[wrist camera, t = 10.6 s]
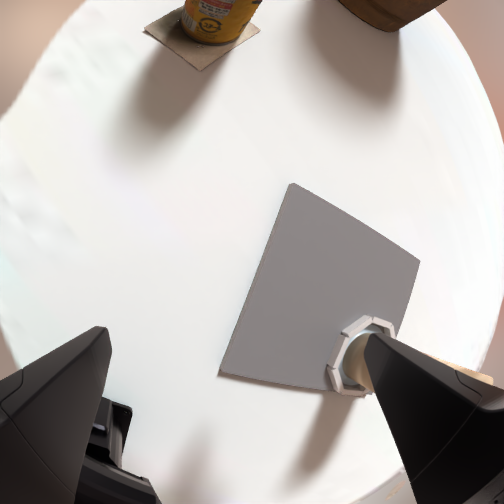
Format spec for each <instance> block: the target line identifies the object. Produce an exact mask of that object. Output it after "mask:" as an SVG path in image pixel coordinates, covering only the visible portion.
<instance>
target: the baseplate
mask: <svg viewBox="0 0 504 504" xmlns="http://www.w3.org/2000/svg"><path fill="white" fill-rule="evenodd" d="M419 264H420V260H419V259H417V258H416V257H414V256H413V255H411V254H410V253H408V252H407V251H406V250H404V249H403V248H401V247H400V246H398V245H397V244H395V243H394V242H392V241H390V240H389V239H387V238H386V237H384V236H383V235H381V234H380V233H378V232H377V231H375V230H373V229H372V228H370V227H369V226H367V225H365V224H364V223H362V222H361V221H359V220H357V219H356V218H354V217H352V216H351V215H349V214H347V213H346V212H344V211H342V210H341V209H339V208H337V207H336V206H334V205H332V204H331V203H329V202H327V201H325V200H324V199H322V198H320V197H318V196H317V195H315V194H313V193H311V192H310V191H308V190H306V189H304V188H302V187H301V186H299V185H297V184H295V183H292V184H289V187H288V189H287V192H286V195H285V197H284V200H283V203H282V206H281V208H280V211H279V214H278V216H277V219H276V222H275V224H274V227H273V230H272V232H271V235H270V238H269V240H268V243H267V246H266V248H265V251H264V254H263V256H262V259H261V262H260V264H259V267H258V270H257V272H256V275H255V277H254V280H253V283H252V285H251V288H250V291H249V293H248V296H247V298H246V301H245V304H244V306H243V309H242V312H241V314H240V317H239V319H238V322H237V325H236V327H235V330H234V332H233V335H232V337H231V340H230V343H229V345H228V348H227V350H226V353H225V355H224V358H223V361H222V363H221V366H220V369H221V371H222V372H225V373H230V374H234V375H239V376H243V377H248V378H253V379H258V380H263V381H268V382H274V383H279V384H285V385H291V386H298V387H305V388H312V389H319V390H327V391H336V392H338V393H340V394H341V395H351V396H362V394H363V395H365V394H370V395H372V393H373V392H372V391H370V390H369V389H367V388H365V387H364V386H362V385H360V384H359V383H357V382H355V381H354V380H352V379H350V378H349V377H347V376H346V375H345V373H344V371H343V366H342V362H343V357H344V354H345V351H346V349H347V348H348V346H349V344H350V343H351V342H352V341H353V340H354V339H355V338H356V337H357V336H359V335H361V334H363V333H377V332H381V333H384V334H386V335H388V336H390V337H392V338H394V339H396V337H397V334H398V331H399V329H400V326H401V323H402V320H403V317H404V314H405V311H406V308H407V305H408V302H409V299H410V296H411V293H412V289H413V286H414V282H415V279H416V275H417V272H418V268H419Z"/></svg>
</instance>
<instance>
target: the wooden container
mask: <svg viewBox="0 0 504 504" xmlns="http://www.w3.org/2000/svg"><path fill="white" fill-rule="evenodd" d="M339 1H340V2H341V3H342V4H343V5H344V6H345V7H347V8H348V9H349V10H350V11H351V12H353V13H354V14H355V15H357V16H358V17H359V18H361V19H362V20H364V21H365V22H367V23H369V24H370V25H372V26H374V27H376V28H378V29H381V30H383V31H387V32H395V31H397V30H399V29H400V28H402V27H404V26H405V25H407V24H409V23H410V22H412V21H414V20H415V19H417V18H419V17H421V16H422V15H424V14H426V13H427V12H429V11H431V10H432V9H434V8H436V7H437V6H439V5H440V4H442V3H444V2H445V1H447V0H339Z"/></svg>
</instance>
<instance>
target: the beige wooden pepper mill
mask: <svg viewBox="0 0 504 504" xmlns="http://www.w3.org/2000/svg"><path fill="white" fill-rule="evenodd" d="M370 334H371V333H363V334H361V335H359V336H357V337H356V338H355V339H354V340H353V341H352V342H351V343H350V344H349V346H348V348H347V349H346V351H345V354H344V357H343V362H342V366H343V371H344V373H345V375H346V376H347V377H349V378H350V379H352V380H354V381H355V382H357V383H359V384H360V385H362V386H364V387H365V388H367V389H369V390H370V391H372V392H374V393H375V391H374V389H373V386H372V382H371V379H370V376H369V372H368V369H367V366H366V363H365V360H364V349H365V346H366V344H367V341H368V338H369V335H370ZM424 354H425V353H424ZM426 355H428V354H426ZM428 356H430V355H428ZM430 357H432V358H434V359H436V360H438V361H440V362H442V363H444V364H446V365H448V366H450V367H452V368H454V370H455V369H456V370H458V371H460V372H462V373H464V374H467V375H469V376H471V377H473V378H475V379H478V380H480V381H483V382H485V383H488V384H490V385H493V379H492V377H490V376H487V375H484V374H481V373H478V372H475V371H472V370H470V369H467V368H464V367H461V366H458V365H455V364H453V363H450V362H447V361H444V360H441V359H439V358H436V357H433V356H430Z"/></svg>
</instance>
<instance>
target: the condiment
mask: <svg viewBox="0 0 504 504" xmlns="http://www.w3.org/2000/svg"><path fill="white" fill-rule="evenodd" d="M261 2H262V0H186V1H185V5H184V6H182V7H180V8H178V9H176V10H173V11H171V12H170V13H169V14H167V15H165V16H163V17H162V18H160V19H158V20H156V21H154V22H152V23H151V24H149V25H148V26H146V27H145V28H144V29H145V30H147V31H148V32H150V34H152V35H153V36H154V37H156V38H157V39H159V40H160V41H161V42H162V43H164V44H165V45H166V46H168V47H169V48H170V49H172V50H173V51H174V52H175V53H177V54H178V55H180V56H181V57H183V58H184V59H185V60H186V61H187V62H189V63H190V64H192V65H193V66H194V67H196V68H197V69H198V70H199V71H201V70H203V69H204V68H205V67H206V66H208V65H209V64H211V63H212V62H214V61H215V60H216V59H217V58H219V57H220V56H222V55H223V54H225V53H226V52H228V51H229V50H231V49H233V48H234V47H236V46H237V45H239V44H240V43H242V42H243V41H245V40H247V39H248V38H250V37H251V36H253V35H255V34H256V33H258V32H259V31H261V30H260V29H259V28H257V27H256V26H255V25H253V24H252V23H250V22H249V21H250V19H251V17H252V16H253V14H254V13H255V11H256V9H257V8H258V6H259V5H260V3H261ZM177 20H179V21H177ZM196 46H200V47H196ZM202 46H204V47H202Z"/></svg>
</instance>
